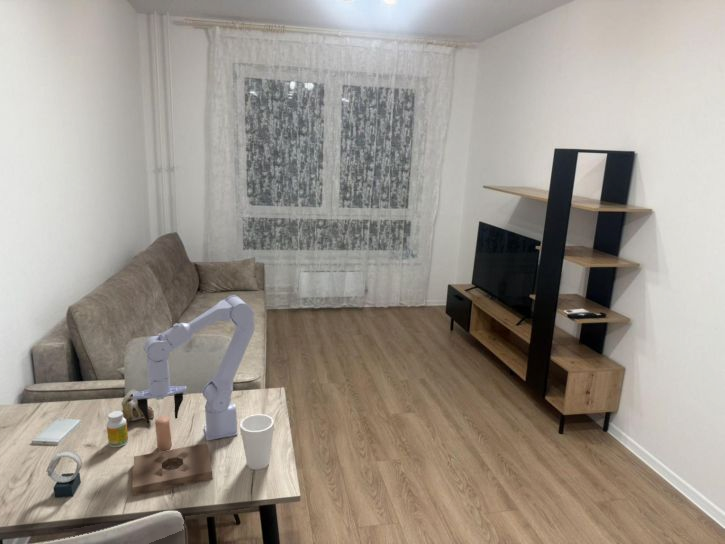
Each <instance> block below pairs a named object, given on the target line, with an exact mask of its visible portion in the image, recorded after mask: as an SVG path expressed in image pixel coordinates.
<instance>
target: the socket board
mask: <svg viewBox="0 0 725 544" xmlns="http://www.w3.org/2000/svg"><path fill="white" fill-rule="evenodd" d="M171 466H179V467H178V468H174V469H170V470H168V469H167V468H169V467H171ZM210 480H213V468H212V461H211V455H210V451H209V444H208V442H205V443H199V444H195V445H189V446H184V447H179V448H178V447H177V448H174V449H169V450H166V451H157V452H151V453H146V454H140V455H135V456H133V470H132V482H131V483H132V484H131V485H132V487H131V489H132V496H133V497H134V496H138V495H144V494H148V493H152V492H157V491H162V490H165V489H166V490H167V489H172V488H177V487H181V486H186V485H187V486H188V485H191V484H196V483H200V482H204V481H206V482H207V481H210Z"/></svg>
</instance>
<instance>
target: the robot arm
mask: <svg viewBox="0 0 725 544" xmlns="http://www.w3.org/2000/svg"><path fill="white" fill-rule="evenodd" d="M254 316H255V312H254V311H253V309H252V307H251V306H250V305H249V304H248V303H246V302H245V301H244V300H243V299H241V298H240V296H237V295H229V296H228V297H226V298H225V299H221V300H219V301H218V302H217V304H215V305H214V306H213V307H211V308H209V309H208V310H207V311H205V312H203V313H202V314H200V315H199V316H197V317H195V318H194V319H192V320H190V321H189V322H187V323H186V322H180V323H177V322H176V323H173V325H172V327H171V328H169V329H167V330H165V331H163V332H162V333H161V332H160V333H158V334H157V335H156V336H155V335H154V336H153V335H152V336H150V337H148V338H147V339H146V341H145V342H144V345H143V350H144V351H145V353H146V366H147V369H146V370H147V380H148V389H146V390H141V391H138V393H133V402H137V401H138V407H139V409H140V410H141V411H142V412H143V414H144V416H145V418H146V419H145V420H146V424H150V421H151V420H150V418H149V411H148V405H149V403H148V400H152V399H156V400H157V401H158V400H164V399H165V398H166V397H170V396H171V397H172V396H173V398H174V399H173V401H174V419H175V420H176V419H178V415H179V410H180V407H181V404H182V403H183V400H184V396H187V395H188V393H187V385H178V386H176V385H171V382H170V381H171V380H170V378H171V377H170V369H169V368H170V367H169V360H168V357H169V355H170V353H171V352H172V351H174V350H176V349H177V348H179V347H181V346H182V345H184V344H186V343H188V342H190V340H192V339H193V336H194V334H195V333H197V332H199V331H201V330H203V329H205V328H206V327H208V326H211V325H213V324H215V323H217V322H218V321H220V322H227V323H231V321H232V323H233V325H234V327H235V330H234V333H233V335H232V337H231V340H230V342H229V344H228V347H227V349H226V351H225V353H224V356H223V358H222V360H221V363H220V364H219V367H218V369H217V372H216V374H215V375H213V376H210V379H209V381H208V382H207V384H205V385H204V387H203V388H202V396H203V398H204V399H205V400H206V402H205V406H204V411H205V415H204V416H205V426H204V435H205V440H206V441H211V440H216V439H222V438H228V437H233V436H238V418H237V417H238V416H237V415H238V414H237V407H236V403H235V402H234V403H231V401H232V399H231V397H232V394H233V380H234V378H235V376H236V373H237V371H238V369H239V366H240V365H241V362H242V360H243V357H244V355H245V353H246V351H247V348H248V346H249V343H251V342H250V341H251V339H252V337H253V335H254V331H255V322H254V321H255V320H254Z"/></svg>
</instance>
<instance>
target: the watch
mask: <svg viewBox="0 0 725 544" xmlns="http://www.w3.org/2000/svg"><path fill="white" fill-rule="evenodd" d="M62 458H68V459H70V460H73V461H74V462H75V463H76V469H75V471H74V472H70V473H69V472H68V473H61V475H60V474H59V473H57V472H56V471H55V469H56V467H57V466H58V464H59V463H60V461H61V459H62ZM82 467H83V461H82V458H81V456H80V455H79V454H78V453H76V452H74V451H71V450H61V451H60V452H56V453H55V455H54V456H53V457H52V459H51V461H50V462H49V464H48V466H47V468H46V471H45V472H47V476H48V477H49V478H50V479H51V480H52V481H54V482H56V483H55V484H54V486H53V494H54V495H53V496H54V499H59V498H71V497H74V495H75V494H76V492H77V490H78V488H79V487H80V485H81V483H82V482H81V474H80V471H81V469H82Z"/></svg>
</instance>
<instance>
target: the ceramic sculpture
mask: <svg viewBox="0 0 725 544" xmlns="http://www.w3.org/2000/svg"><path fill="white" fill-rule="evenodd" d="M138 392H139V391H138V390H135V389H134V388H130V390H129V391H128V392H127V393H126V395H124V397H123V399H122V402H121V407H122V412H123V417H124V418H125V419H126V423H127V425H128V424H129V423H130V421H132V422H134V421H138V420H141V419H144V420H146V418H145V416H144V414H143V412H142V411H141V410H140V409H139V407H138V401H137V402H133V393H138ZM148 411H149V418H150V421H153V420H154V419H155V418H154V417H155V415H154V410H153V408H152V407H151V406H148Z"/></svg>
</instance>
